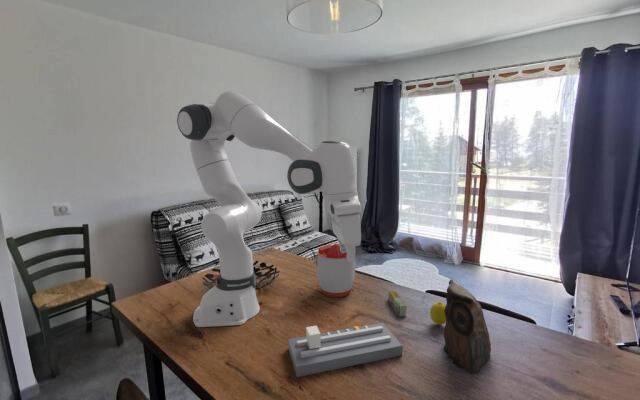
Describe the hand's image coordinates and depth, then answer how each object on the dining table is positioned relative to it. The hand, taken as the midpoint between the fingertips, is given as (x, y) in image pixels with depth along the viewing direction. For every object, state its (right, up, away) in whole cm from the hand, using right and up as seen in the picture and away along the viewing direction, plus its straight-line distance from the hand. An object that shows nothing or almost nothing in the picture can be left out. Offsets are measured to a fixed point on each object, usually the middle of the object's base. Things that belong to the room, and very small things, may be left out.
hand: (347, 256), depth 83 cm
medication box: (+21, -25, +33) cm, 46 cm away
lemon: (+31, -26, +21) cm, 46 cm away
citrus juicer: (-2, -22, +46) cm, 51 cm away
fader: (-9, -26, +5) cm, 28 cm away
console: (0, -29, +8) cm, 30 cm away
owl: (+34, -29, +5) cm, 45 cm away
